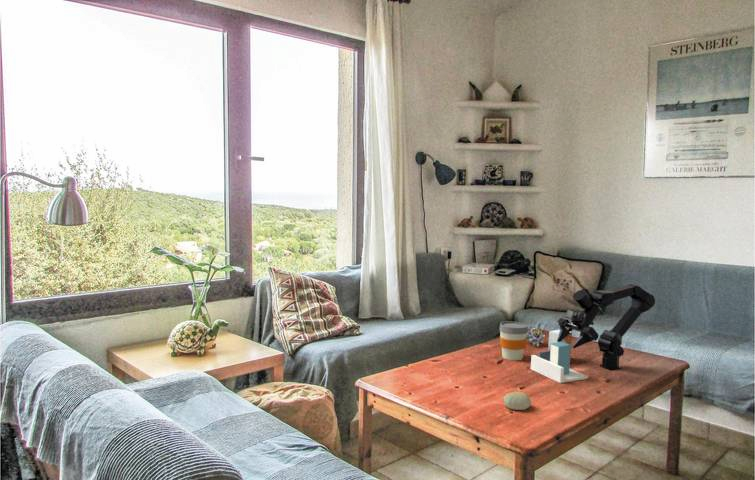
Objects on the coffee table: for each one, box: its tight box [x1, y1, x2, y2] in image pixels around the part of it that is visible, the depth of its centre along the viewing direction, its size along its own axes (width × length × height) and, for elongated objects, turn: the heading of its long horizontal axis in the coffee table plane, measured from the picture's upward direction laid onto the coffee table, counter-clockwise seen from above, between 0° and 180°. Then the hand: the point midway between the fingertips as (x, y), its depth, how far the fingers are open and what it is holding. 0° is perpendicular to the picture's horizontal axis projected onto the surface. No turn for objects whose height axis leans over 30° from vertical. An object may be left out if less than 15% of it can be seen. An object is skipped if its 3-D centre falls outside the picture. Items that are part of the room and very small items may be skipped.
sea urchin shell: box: [503, 391, 532, 411], centre depth 200 cm, size 9×8×8 cm
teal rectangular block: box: [550, 342, 572, 375], centre depth 233 cm, size 6×5×12 cm
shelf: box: [530, 350, 589, 384], centre depth 235 cm, size 14×18×8 cm
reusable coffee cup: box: [499, 321, 529, 361], centre depth 257 cm, size 13×13×15 cm
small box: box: [547, 329, 573, 358], centre depth 253 cm, size 8×6×13 cm
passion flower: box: [526, 323, 546, 348], centre depth 279 cm, size 11×11×12 cm
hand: (565, 344), depth 234 cm, fingers open, 9 cm apart
